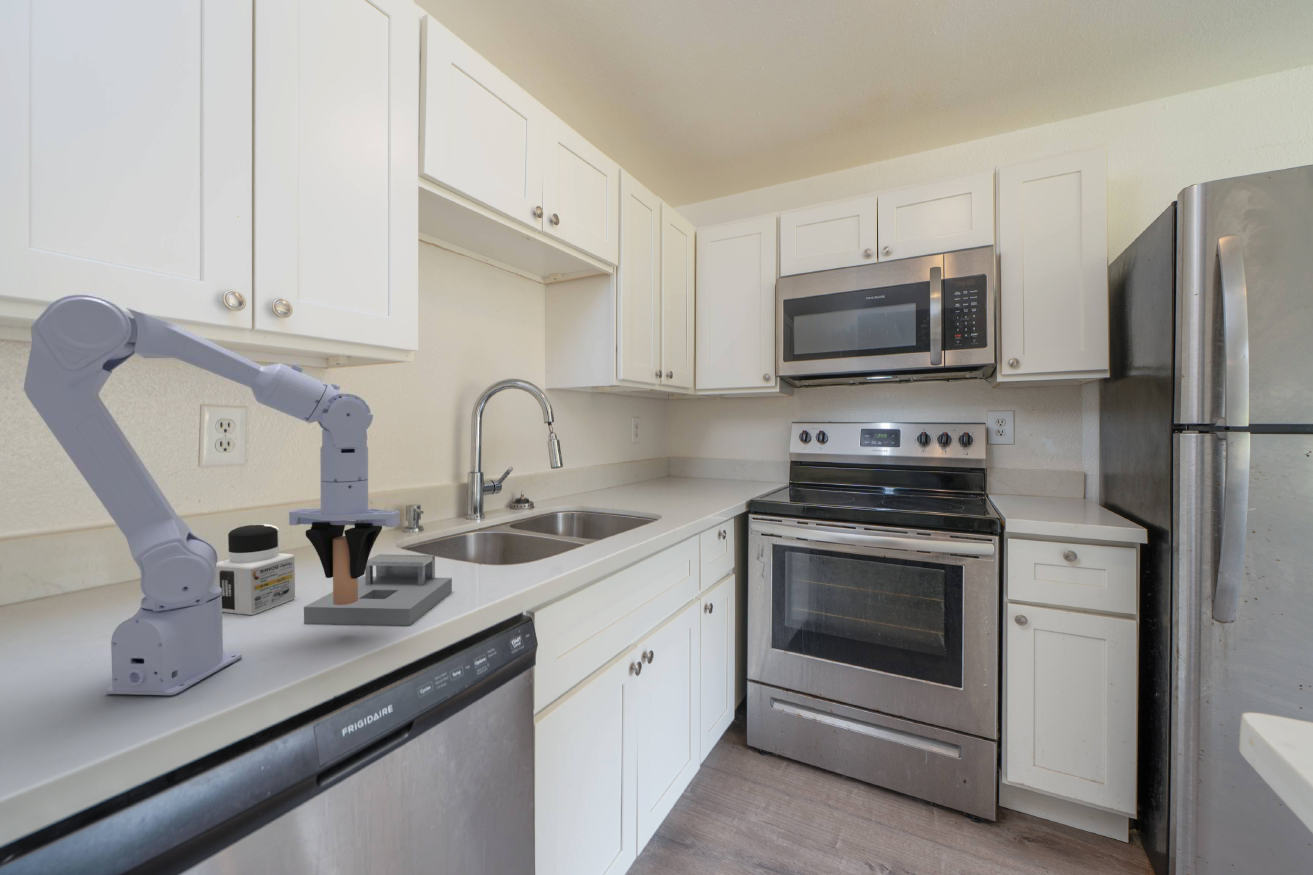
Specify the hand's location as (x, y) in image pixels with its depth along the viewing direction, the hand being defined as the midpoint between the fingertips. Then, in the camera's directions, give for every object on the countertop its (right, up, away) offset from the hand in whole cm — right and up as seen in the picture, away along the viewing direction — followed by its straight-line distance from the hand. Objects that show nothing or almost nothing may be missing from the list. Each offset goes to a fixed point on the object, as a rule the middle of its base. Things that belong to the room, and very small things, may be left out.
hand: (345, 576), depth 73 cm
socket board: (-1, -8, +12) cm, 14 cm away
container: (-22, -8, +12) cm, 26 cm away
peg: (0, -4, 0) cm, 4 cm away
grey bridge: (-1, -5, +17) cm, 18 cm away
